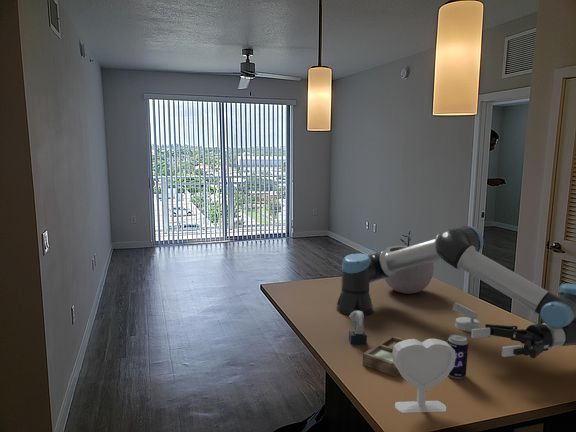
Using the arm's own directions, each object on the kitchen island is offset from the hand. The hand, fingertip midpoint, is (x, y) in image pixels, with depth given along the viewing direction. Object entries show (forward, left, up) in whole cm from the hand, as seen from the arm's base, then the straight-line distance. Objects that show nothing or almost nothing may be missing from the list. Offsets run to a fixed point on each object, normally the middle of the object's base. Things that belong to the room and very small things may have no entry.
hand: (486, 342), depth 133 cm
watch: (-41, -7, -10) cm, 43 cm away
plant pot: (-54, +59, -10) cm, 81 cm away
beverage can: (-6, -8, -10) cm, 14 cm away
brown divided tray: (-25, -11, -10) cm, 29 cm away
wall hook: (-17, +33, -10) cm, 38 cm away
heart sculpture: (-7, -31, -10) cm, 33 cm away
